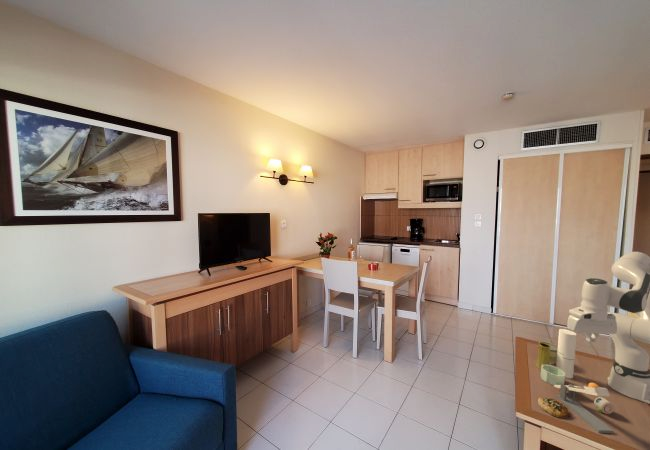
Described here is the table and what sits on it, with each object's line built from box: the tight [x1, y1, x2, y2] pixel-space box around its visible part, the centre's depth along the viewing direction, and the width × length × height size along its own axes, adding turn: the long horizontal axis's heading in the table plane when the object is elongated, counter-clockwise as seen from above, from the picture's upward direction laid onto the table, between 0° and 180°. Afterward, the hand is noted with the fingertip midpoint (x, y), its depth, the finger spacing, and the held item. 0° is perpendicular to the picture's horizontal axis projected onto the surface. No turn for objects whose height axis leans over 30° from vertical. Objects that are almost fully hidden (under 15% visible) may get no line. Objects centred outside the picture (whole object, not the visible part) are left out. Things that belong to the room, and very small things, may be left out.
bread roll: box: [537, 396, 570, 419], centre depth 117 cm, size 11×11×5 cm
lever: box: [553, 384, 611, 397], centre depth 118 cm, size 26×13×3 cm, turn 179°
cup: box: [540, 364, 566, 386], centre depth 137 cm, size 10×10×6 cm
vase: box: [535, 342, 551, 371], centre depth 148 cm, size 6×6×14 cm
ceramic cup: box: [538, 341, 558, 365], centre depth 156 cm, size 13×10×10 cm
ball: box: [587, 382, 600, 388], centre depth 110 cm, size 4×4×4 cm
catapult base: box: [555, 383, 614, 434], centre depth 115 cm, size 20×6×8 cm, turn 179°
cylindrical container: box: [555, 328, 577, 379], centre depth 142 cm, size 7×7×25 cm
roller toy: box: [593, 396, 615, 415], centre depth 117 cm, size 4×6×6 cm
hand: (590, 341), depth 120 cm, fingers closed
